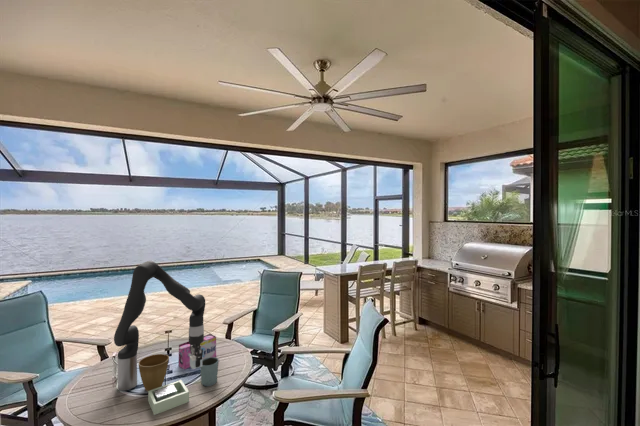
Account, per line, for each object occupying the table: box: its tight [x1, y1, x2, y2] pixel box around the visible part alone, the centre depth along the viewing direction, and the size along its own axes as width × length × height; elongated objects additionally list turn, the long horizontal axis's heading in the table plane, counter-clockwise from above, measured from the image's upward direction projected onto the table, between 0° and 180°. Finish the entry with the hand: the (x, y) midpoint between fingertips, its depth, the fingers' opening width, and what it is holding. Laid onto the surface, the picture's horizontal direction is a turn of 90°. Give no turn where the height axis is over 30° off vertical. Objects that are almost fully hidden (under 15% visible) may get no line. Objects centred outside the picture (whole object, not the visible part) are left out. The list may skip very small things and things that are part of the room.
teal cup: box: [199, 357, 220, 387], centre depth 173 cm, size 10×10×12 cm
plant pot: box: [137, 353, 170, 392], centre depth 167 cm, size 15×15×16 cm
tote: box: [147, 379, 190, 416], centre depth 154 cm, size 14×16×6 cm
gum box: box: [178, 333, 217, 371], centre depth 197 cm, size 24×8×14 cm, turn 142°
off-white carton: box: [190, 355, 203, 370], centre depth 161 cm, size 5×5×5 cm
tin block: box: [154, 385, 177, 402], centre depth 153 cm, size 7×9×6 cm
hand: (196, 364), depth 161 cm, fingers closed on off-white carton, 5 cm apart
